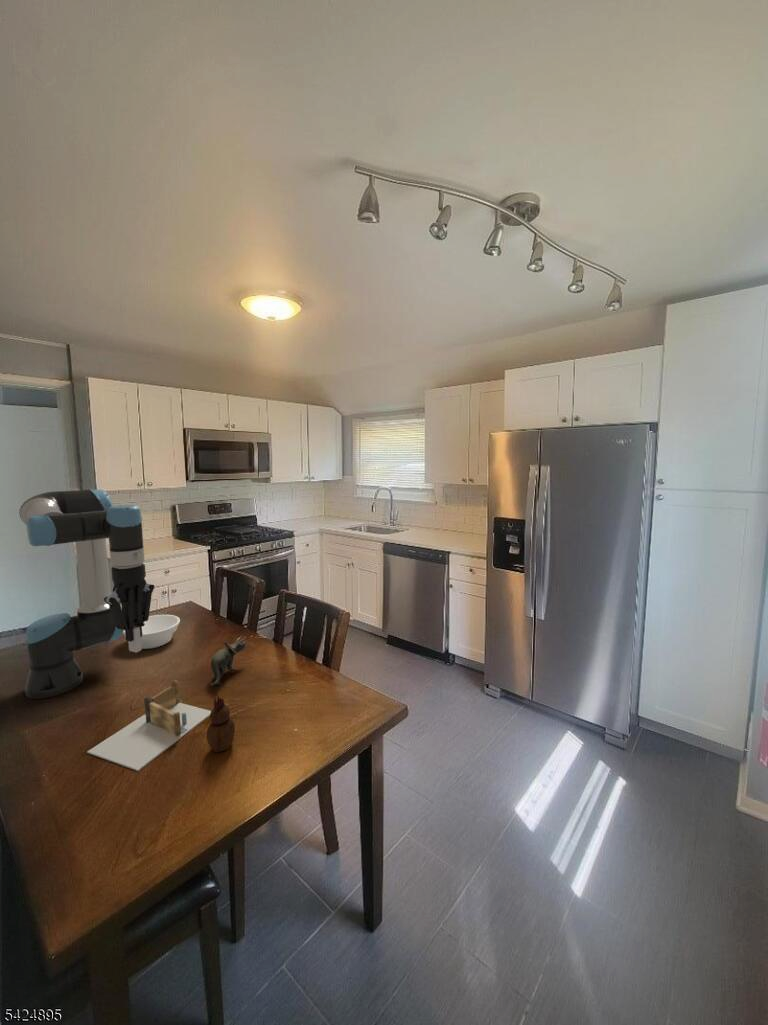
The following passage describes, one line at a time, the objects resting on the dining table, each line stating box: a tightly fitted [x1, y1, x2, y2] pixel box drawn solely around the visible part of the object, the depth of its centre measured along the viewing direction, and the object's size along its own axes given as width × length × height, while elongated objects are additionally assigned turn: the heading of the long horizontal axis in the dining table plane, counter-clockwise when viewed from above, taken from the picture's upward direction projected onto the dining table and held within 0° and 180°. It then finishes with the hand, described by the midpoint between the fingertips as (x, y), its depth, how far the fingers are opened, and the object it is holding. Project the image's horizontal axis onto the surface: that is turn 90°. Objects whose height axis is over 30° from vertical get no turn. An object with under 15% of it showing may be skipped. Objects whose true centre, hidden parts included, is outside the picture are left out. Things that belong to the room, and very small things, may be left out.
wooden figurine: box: [206, 696, 236, 753], centre depth 109 cm, size 7×6×15 cm
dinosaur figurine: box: [209, 634, 247, 686], centre depth 144 cm, size 22×8×11 cm, turn 168°
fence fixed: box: [143, 679, 180, 723], centre depth 125 cm, size 2×11×8 cm, turn 159°
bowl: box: [122, 614, 181, 650], centre depth 172 cm, size 21×21×8 cm
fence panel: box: [149, 702, 181, 736], centre depth 116 cm, size 12×1×6 cm, turn 60°
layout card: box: [86, 701, 211, 772], centre depth 116 cm, size 18×25×3 cm
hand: (135, 650), depth 112 cm, fingers closed
